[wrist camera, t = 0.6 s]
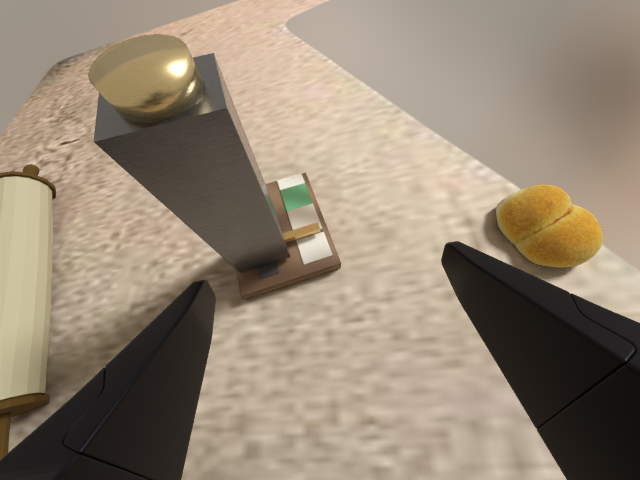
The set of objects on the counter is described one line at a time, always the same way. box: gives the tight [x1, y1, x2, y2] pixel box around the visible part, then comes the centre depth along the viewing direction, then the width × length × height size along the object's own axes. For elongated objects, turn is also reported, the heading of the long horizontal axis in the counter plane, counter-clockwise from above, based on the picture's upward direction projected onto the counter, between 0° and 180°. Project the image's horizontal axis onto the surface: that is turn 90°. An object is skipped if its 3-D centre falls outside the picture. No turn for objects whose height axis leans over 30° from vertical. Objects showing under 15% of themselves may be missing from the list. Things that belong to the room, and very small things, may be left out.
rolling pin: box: [0, 165, 56, 460], centre depth 24 cm, size 32×6×5 cm, turn 24°
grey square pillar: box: [88, 34, 320, 273], centre depth 17 cm, size 4×9×17 cm, turn 108°
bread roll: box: [496, 185, 603, 268], centre depth 25 cm, size 8×9×4 cm
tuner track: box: [236, 173, 341, 299], centre depth 27 cm, size 12×10×2 cm
